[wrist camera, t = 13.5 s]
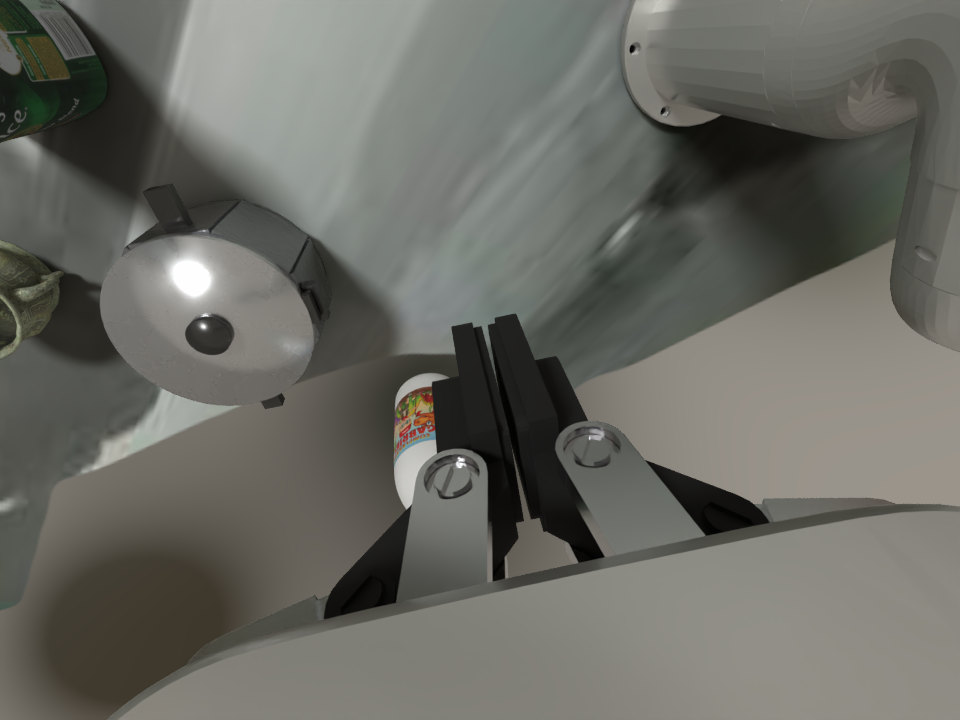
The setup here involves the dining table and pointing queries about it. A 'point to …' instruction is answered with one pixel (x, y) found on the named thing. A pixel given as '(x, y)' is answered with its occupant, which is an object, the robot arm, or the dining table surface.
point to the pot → (245, 241)
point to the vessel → (24, 296)
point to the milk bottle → (413, 432)
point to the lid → (209, 318)
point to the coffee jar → (44, 69)
